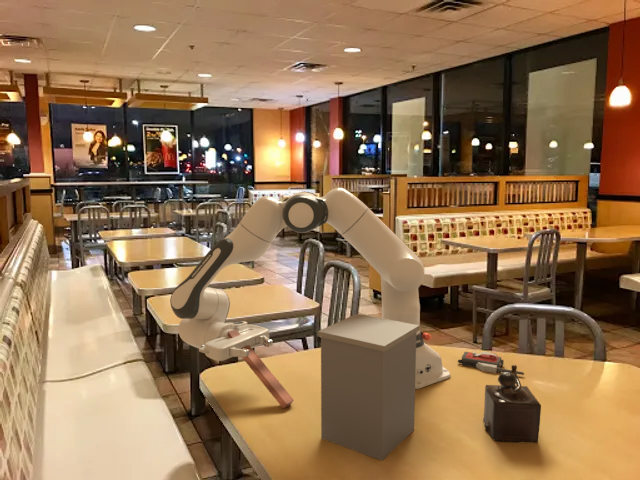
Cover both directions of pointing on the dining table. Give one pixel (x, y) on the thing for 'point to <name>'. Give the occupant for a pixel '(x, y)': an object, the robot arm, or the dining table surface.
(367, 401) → the shelf block
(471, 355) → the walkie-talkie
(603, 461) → the dining table surface
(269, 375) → the copper-colored stick
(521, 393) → the manual coffee grinder
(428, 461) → the dining table surface
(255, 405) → the dining table surface
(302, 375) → the dining table surface
